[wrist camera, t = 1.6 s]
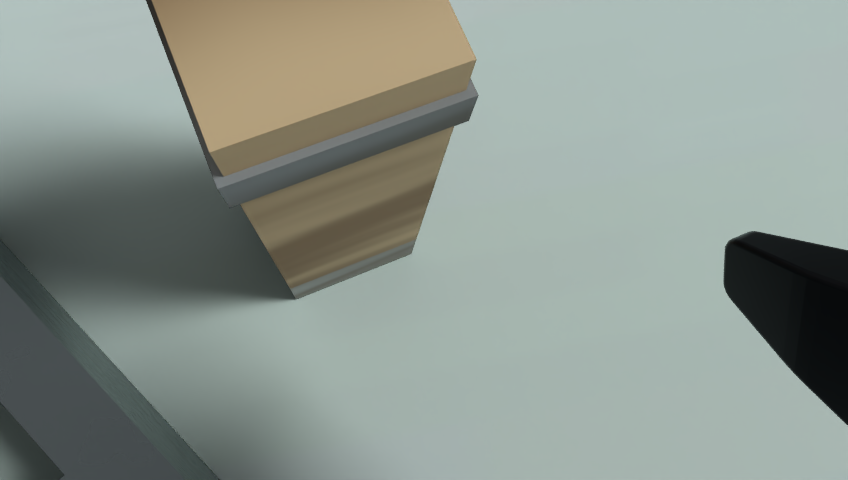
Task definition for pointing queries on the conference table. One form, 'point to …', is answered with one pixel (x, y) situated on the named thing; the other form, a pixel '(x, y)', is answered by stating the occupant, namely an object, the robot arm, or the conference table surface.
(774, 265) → the robot arm
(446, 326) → the conference table surface
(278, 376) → the conference table surface
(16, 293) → the panel
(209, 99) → the tan square column
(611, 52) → the conference table surface
